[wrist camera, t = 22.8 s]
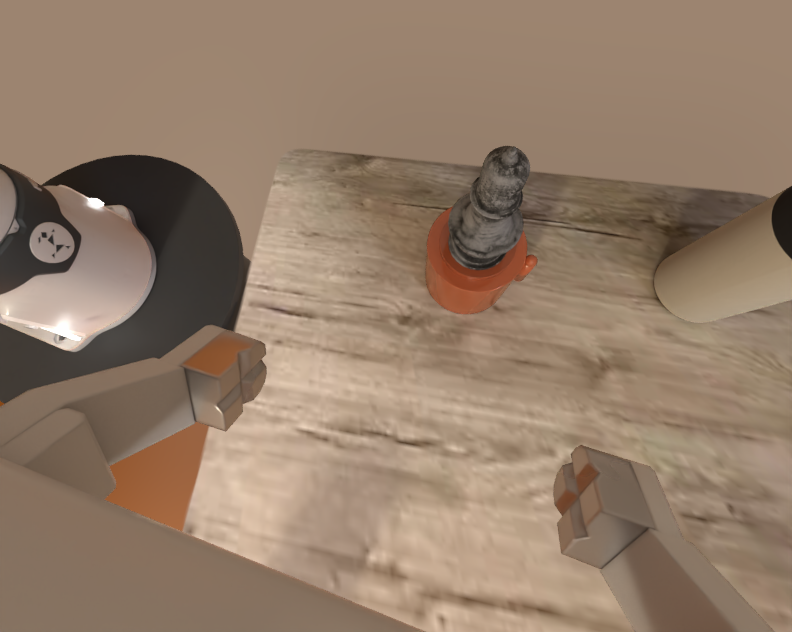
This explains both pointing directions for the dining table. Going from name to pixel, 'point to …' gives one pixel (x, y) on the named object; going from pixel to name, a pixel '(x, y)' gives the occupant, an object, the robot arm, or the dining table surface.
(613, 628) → the dining table surface
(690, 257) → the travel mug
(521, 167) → the grey chess piece
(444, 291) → the coffee cup
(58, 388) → the robot arm
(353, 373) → the dining table surface
